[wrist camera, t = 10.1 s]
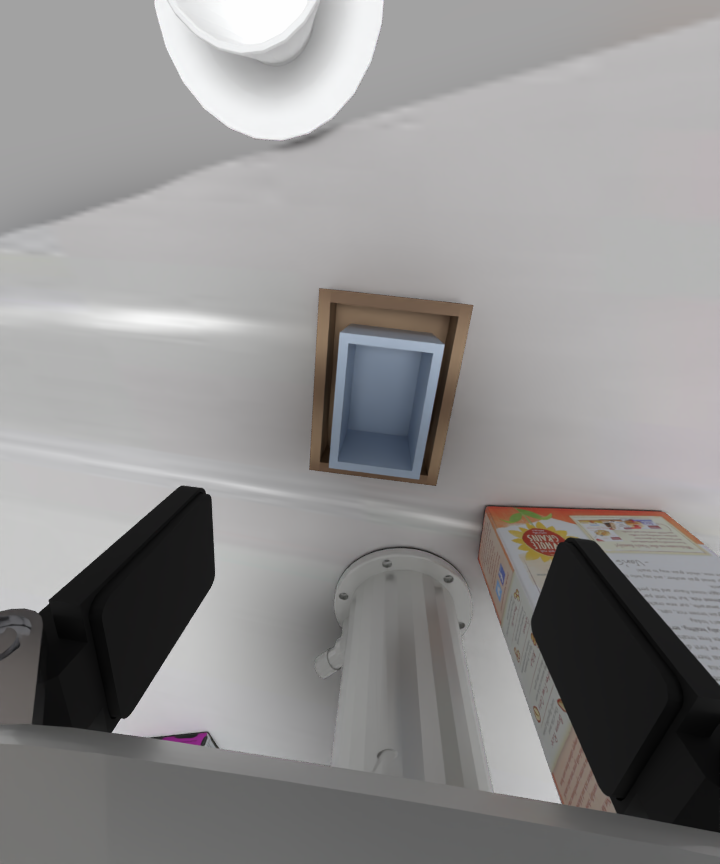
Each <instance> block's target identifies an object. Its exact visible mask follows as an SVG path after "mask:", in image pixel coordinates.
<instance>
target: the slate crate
mask: <svg viewBox="0 0 720 864" xmlns="http://www.w3.org/2000/svg"><path fill="white" fill-rule="evenodd" d="M444 346H445V344H443V343H442V342H441V341H440V340H439V339H438V338H437V337H436V336H435V335H434V334H432V333H428V332H419V331H411V330H402V329H394V328H385V327H377V326H368V325H360V324H350V325H349V326H347V327H346V328H345V329H344V330H342V331H341V332H340V336H339V349H338V361H337V373H336V385H335V397H334V410H333V422H332V434H331V446H330V458H329V468H334V469H341V470H349V471H357V472H364V473H372V474H380V475H387V476H395V477H403V478H410V479H418V480H419V478H420V472H421V467H422V462H423V457H424V451H425V446H426V441H427V436H428V430H429V425H430V420H431V415H432V409H433V404H434V399H435V394H436V388H437V383H438V378H439V373H440V367H441V362H442V357H443V351H444Z"/></svg>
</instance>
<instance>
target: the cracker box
mask: <svg viewBox="0 0 720 864" xmlns="http://www.w3.org/2000/svg"><path fill="white" fill-rule="evenodd" d="M569 537H573V538H580V539H588V540H593V541H595V542H596V543H597V544H598V545H599V546H600V547H601V548H602V550H603V551H604V552H605V553H606V554H607V555H608V557H609V558H610V559H611V560H612V561H613V562H614V563H615V565H616V566H617V567H618V568H619V569H620V570H621V572H622V573H623V574H624V575H625V576H626V577H627V579H628V580H629V581H630V582H631V583H632V584H633V585H634V587H635V588H636V589H637V590H638V591H639V592H640V594H641V595H642V596H643V597H644V598H645V599H646V600H647V602H648V603H649V604H650V605H651V606H652V607H653V609H654V610H655V611H656V612H657V613H658V614H659V616H660V617H661V618H662V619H663V620H664V621H665V622H666V624H667V625H668V626H669V627H670V628H671V629H672V631H673V632H674V633H675V634H676V635H677V636H678V637H679V639H680V640H681V641H682V642H683V643H684V644H685V646H686V647H687V648H688V649H689V650H690V651H691V653H692V654H693V655H694V656H695V657H696V658H697V659H698V661H699V662H700V663H701V664H702V665H703V666H704V668H705V669H706V670H707V671H708V672H709V673H710V675H711V676H712V677H713V678H714V679H715V680H716V681H717V683H718V684H719V685H720V556H718V555H717V554H716V553H715V552H713V551H712V550H711V549H710V548H708V547H707V546H706V545H704V544H703V543H702V542H701V541H699V540H698V539H697V538H696V537H695V536H693V535H692V534H691V533H690V532H688V531H687V530H686V529H685V528H683V527H682V526H681V525H680V524H678V523H677V522H676V521H675V520H673V519H672V518H671V517H670V516H668V515H667V514H666V513H665V512H660V511H627V510H596V509H595V510H591V509H559V508H527V507H495V506H490V507H489V506H487V507H486V510H485V516H484V522H483V530H482V536H481V543H480V549H479V556H478V560H479V563H480V566H481V569H482V572H483V575H484V578H485V581H486V584H487V587H488V590H489V593H490V596H491V599H492V602H493V605H494V608H495V611H496V614H497V617H498V620H499V623H500V625H501V628H502V631H503V634H504V637H505V640H506V643H507V646H508V649H509V652H510V654H511V657H512V660H513V663H514V666H515V669H516V672H517V675H518V678H519V681H520V683H521V686H522V689H523V692H524V695H525V698H526V701H527V704H528V707H529V710H530V713H531V716H532V719H533V722H534V725H535V728H536V731H537V734H538V736H539V739H540V742H541V745H542V748H543V751H544V754H545V757H546V760H547V763H548V766H549V769H550V772H551V775H552V777H553V780H554V783H555V786H556V789H557V792H558V795H559V798H560V801H561V803H562V804H564V805H569V806H575V807H581V808H587V809H593V810H599V811H605V812H611V813H616V811H615V808H614V806H613V804H612V802H611V799H610V797H609V796H606V795H605V794H604V793H603V792H602V791H601V789H600V788H599V786H598V784H597V782H596V779H595V777H594V775H593V772H592V770H591V768H590V765H589V763H588V761H587V758H586V756H585V754H584V752H583V749H582V747H581V745H580V742H579V740H578V738H577V735H576V733H575V731H574V728H573V726H572V724H571V721H570V719H569V717H568V715H567V712H566V710H565V708H564V705H563V703H562V701H561V698H560V696H559V694H558V691H557V689H556V687H555V684H554V682H553V680H552V678H551V675H550V673H549V671H548V668H547V666H546V664H545V661H544V659H543V657H542V654H541V652H540V650H539V647H538V645H537V643H536V641H535V638H534V636H533V633H532V630H531V618H532V615H533V612H534V610H535V607H536V604H537V601H538V598H539V596H540V593H541V590H542V587H543V585H544V582H545V579H546V576H547V573H548V571H549V568H550V565H551V562H552V559H553V557H554V554H555V551H556V548H557V546H558V544H559V543H560V542H564V541H565V540H566V539H567V538H569Z"/></svg>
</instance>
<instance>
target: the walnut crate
mask: <svg viewBox="0 0 720 864" xmlns="http://www.w3.org/2000/svg"><path fill="white" fill-rule="evenodd" d="M472 310H473V305H468V304H460V303H451V302H442V301H432V300H423V299H414V298H405V297H396V296H387V295H378V294H368V293H359V292H350V291H341V290H332V289H321V288H319V304H318V322H317V340H316V358H315V377H314V395H313V413H312V431H311V449H310V468H309V470H315V471H323V472H331V473H339V474H346V475H354V476H362V477H370V478H378V479H386V480H394V481H401V482H409V483H417V484H425V485H433V486H436V484H437V479H438V474H439V469H440V464H441V460H442V455H443V450H444V445H445V440H446V435H447V431H448V426H449V421H450V416H451V411H452V406H453V402H454V397H455V392H456V387H457V382H458V377H459V373H460V368H461V363H462V358H463V353H464V348H465V344H466V339H467V334H468V329H469V324H470V319H471V315H472ZM350 324H360V325H368V326H377V327H385V328H394V329H402V330H411V331H419V332H428V333H432V334H434V335H435V336H436V337H437V338H438V339H439V340H440V341H441V342H442V343H443V344H445V346H444V351H443V357H442V362H441V367H440V373H439V378H438V383H437V388H436V394H435V399H434V404H433V409H432V415H431V420H430V425H429V430H428V436H427V441H426V446H425V451H424V457H423V462H422V467H421V472H420V478H419V480H418V479H410V478H403V477H395V476H387V475H380V474H372V473H364V472H357V471H349V470H341V469H334V468H329V458H330V446H331V434H332V422H333V410H334V397H335V385H336V373H337V361H338V349H339V336H340V332H341V331H342V330H344V329H345V328H346V327H347V326H349V325H350Z"/></svg>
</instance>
